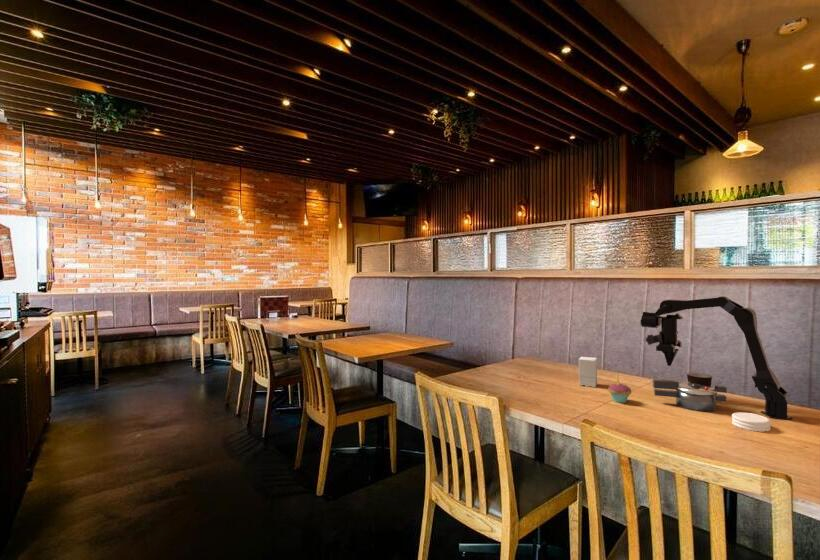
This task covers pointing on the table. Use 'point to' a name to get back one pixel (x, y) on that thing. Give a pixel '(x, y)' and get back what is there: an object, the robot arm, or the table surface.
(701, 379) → the coffee mug
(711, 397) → the pot
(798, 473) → the table surface
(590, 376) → the supplement box
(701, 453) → the table surface
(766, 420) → the coaster
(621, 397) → the cupcake
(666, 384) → the lid
